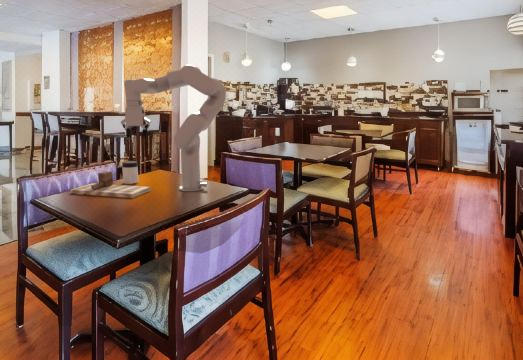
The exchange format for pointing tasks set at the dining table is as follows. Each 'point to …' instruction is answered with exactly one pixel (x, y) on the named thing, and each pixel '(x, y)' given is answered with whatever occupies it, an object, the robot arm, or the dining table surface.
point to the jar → (130, 172)
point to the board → (112, 190)
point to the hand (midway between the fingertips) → (137, 137)
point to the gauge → (103, 180)
